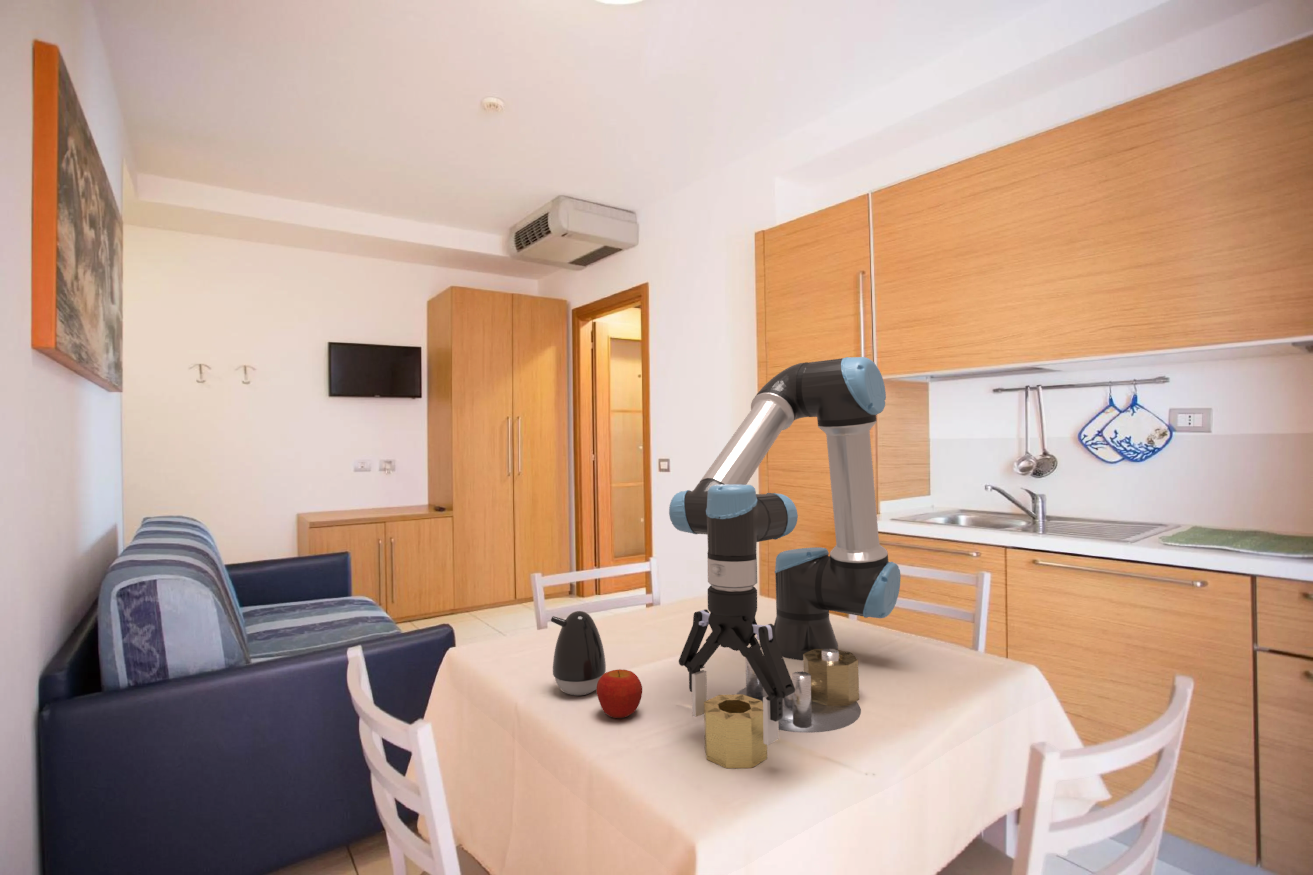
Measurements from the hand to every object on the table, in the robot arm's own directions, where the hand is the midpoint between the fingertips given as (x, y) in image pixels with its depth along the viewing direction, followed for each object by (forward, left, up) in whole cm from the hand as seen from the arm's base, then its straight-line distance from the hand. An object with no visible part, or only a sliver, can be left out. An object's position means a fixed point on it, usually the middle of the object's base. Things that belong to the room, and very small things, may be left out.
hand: (733, 727), depth 94 cm
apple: (-23, -3, -4) cm, 24 cm away
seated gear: (+1, +28, -3) cm, 28 cm away
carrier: (-2, +20, -4) cm, 21 cm away
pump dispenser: (-37, -1, -4) cm, 37 cm away
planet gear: (0, 0, -4) cm, 4 cm away
